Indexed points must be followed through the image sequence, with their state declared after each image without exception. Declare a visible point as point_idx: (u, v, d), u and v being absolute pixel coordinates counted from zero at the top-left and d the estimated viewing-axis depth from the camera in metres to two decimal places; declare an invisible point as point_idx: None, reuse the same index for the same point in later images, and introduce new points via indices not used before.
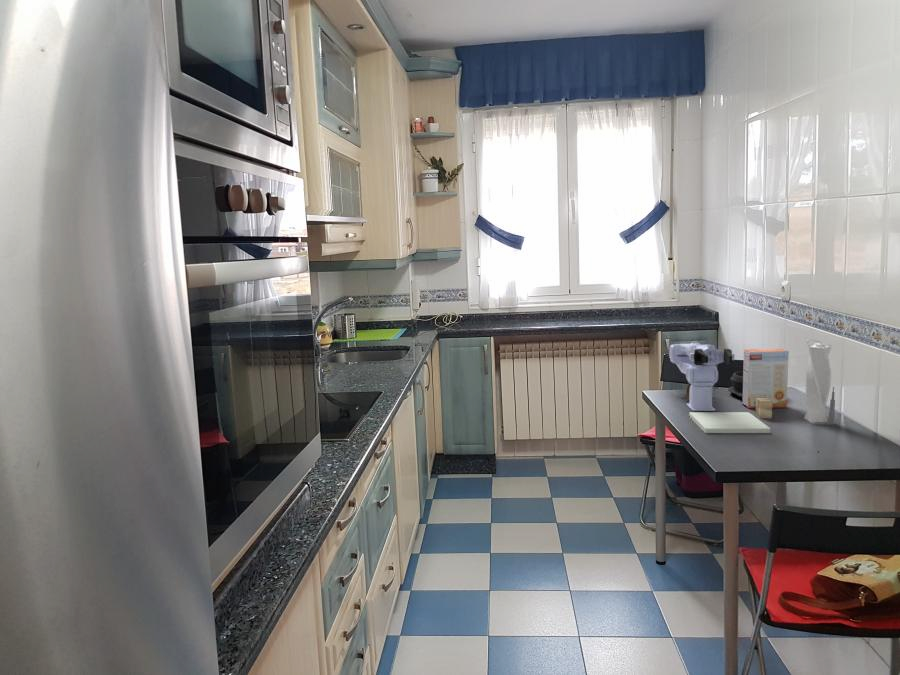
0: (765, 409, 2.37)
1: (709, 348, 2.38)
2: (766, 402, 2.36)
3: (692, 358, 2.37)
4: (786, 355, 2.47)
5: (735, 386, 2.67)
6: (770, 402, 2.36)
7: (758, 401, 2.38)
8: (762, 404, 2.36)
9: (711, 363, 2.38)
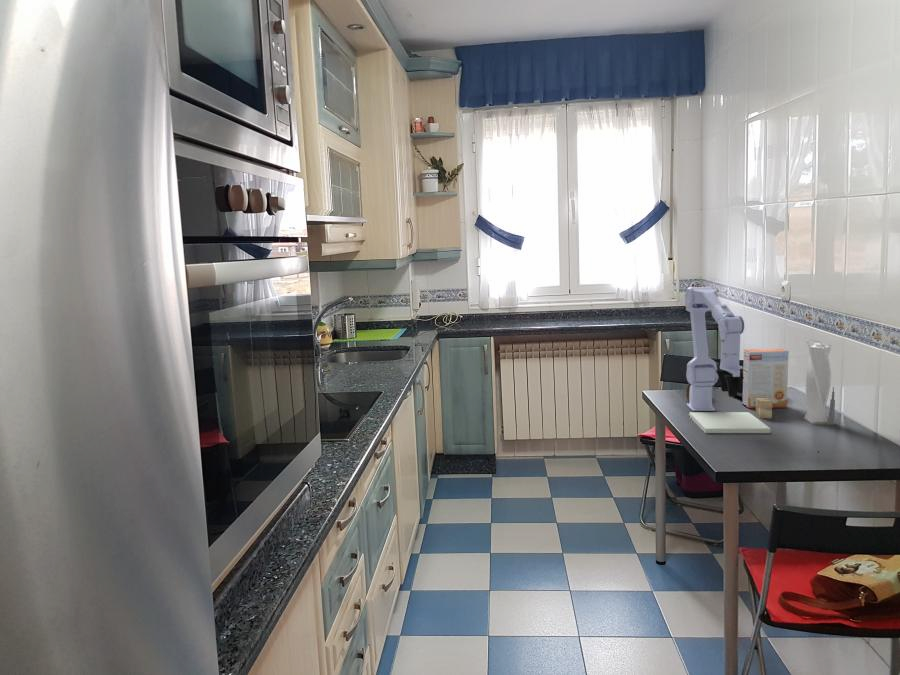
0: (765, 409, 2.37)
1: None
2: (766, 402, 2.36)
3: None
4: (786, 355, 2.47)
5: None
6: (770, 402, 2.36)
7: (758, 401, 2.38)
8: (762, 404, 2.36)
9: None
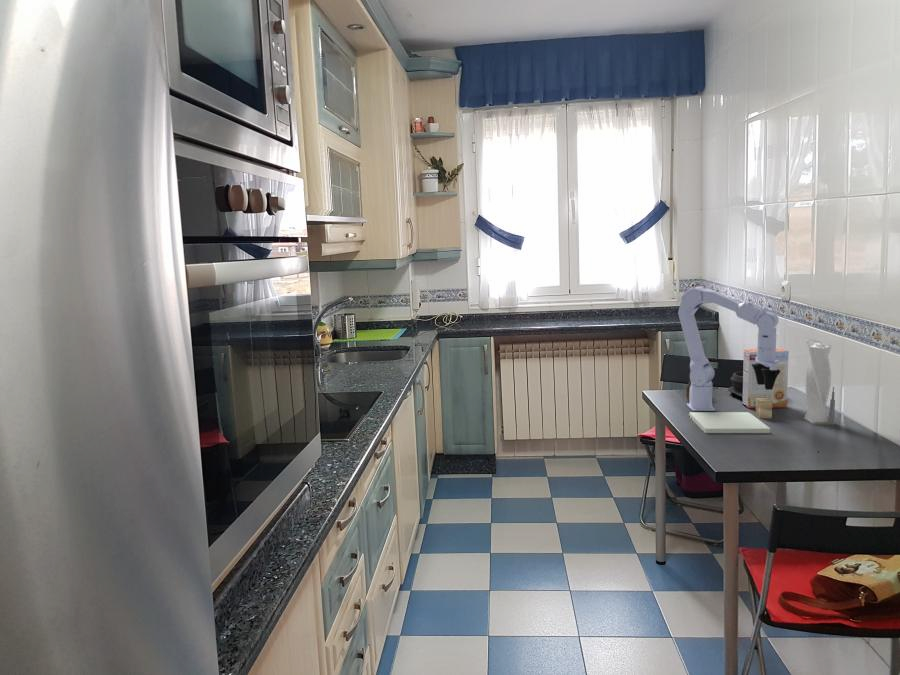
0: (765, 409, 2.37)
1: None
2: (766, 402, 2.36)
3: None
4: (786, 355, 2.47)
5: (735, 386, 2.67)
6: (770, 402, 2.36)
7: (758, 401, 2.38)
8: (762, 404, 2.36)
9: None
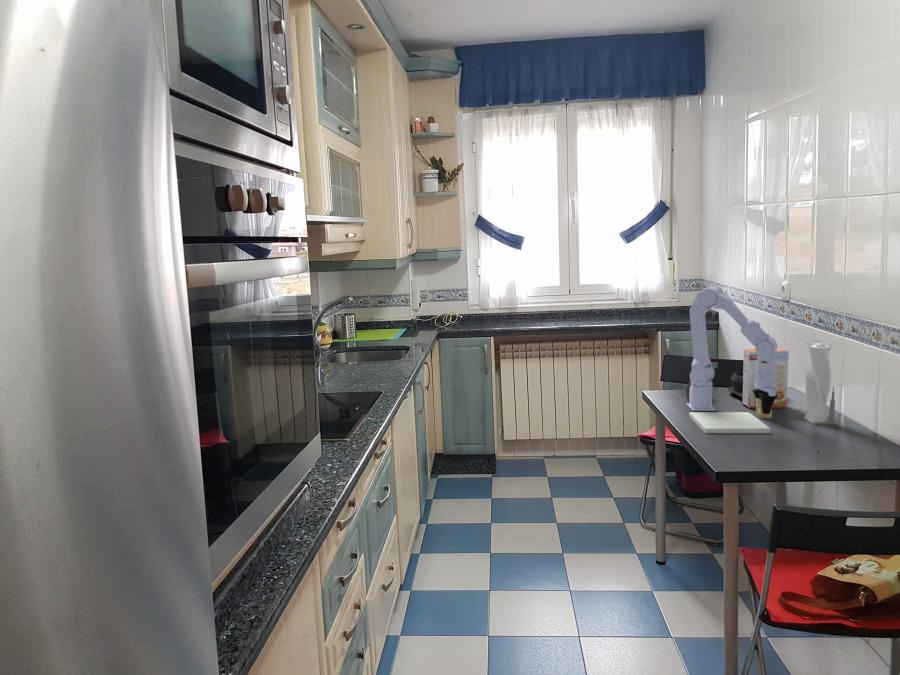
0: None
1: None
2: None
3: None
4: (786, 355, 2.47)
5: (735, 386, 2.67)
6: None
7: (758, 401, 2.38)
8: None
9: None
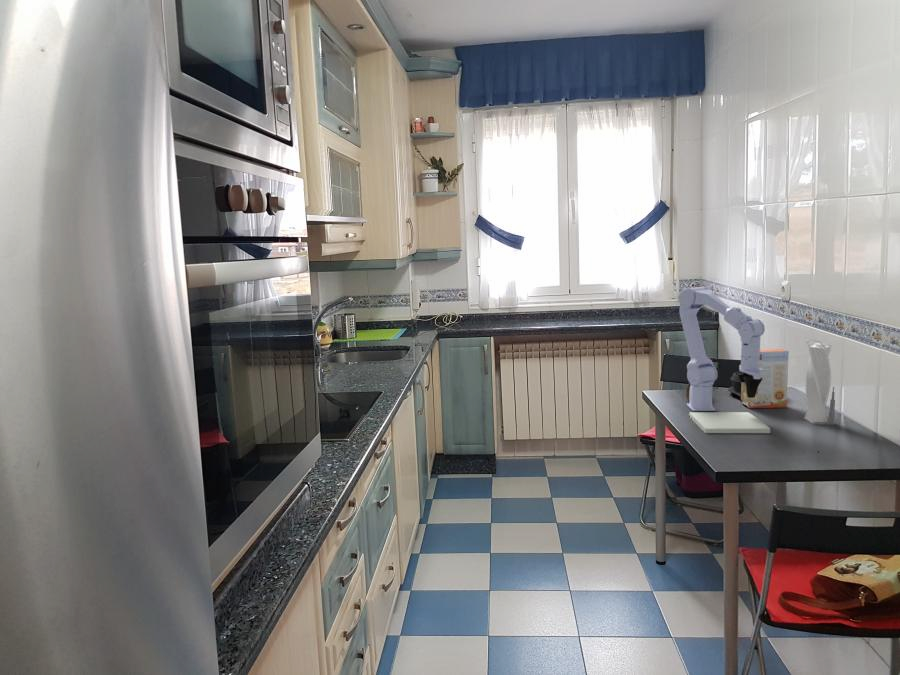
0: None
1: None
2: None
3: None
4: (786, 355, 2.47)
5: (735, 386, 2.67)
6: None
7: (743, 385, 2.33)
8: None
9: None
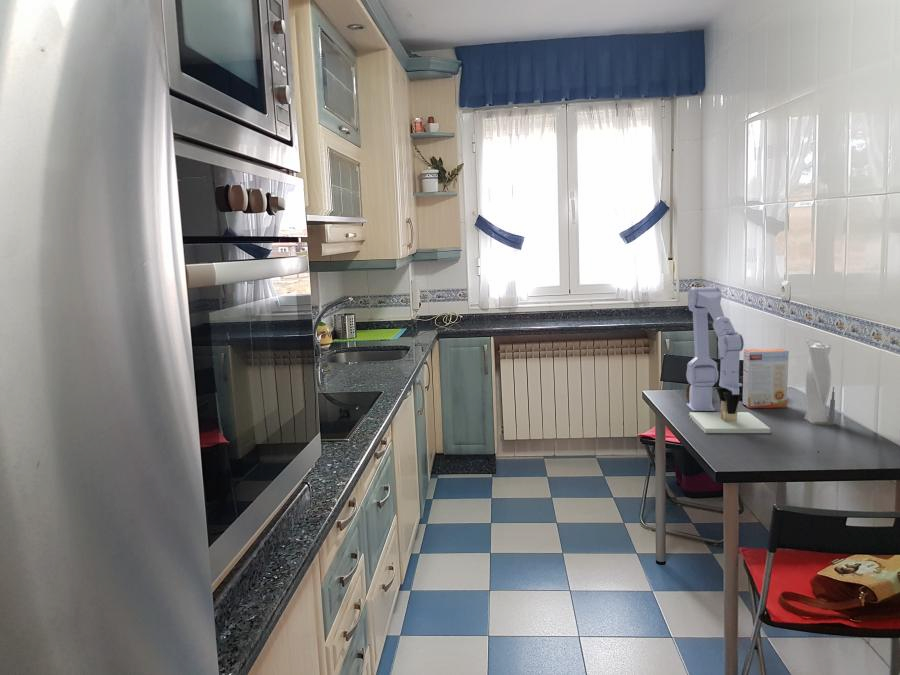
0: None
1: None
2: None
3: None
4: (786, 355, 2.47)
5: None
6: None
7: (723, 404, 2.29)
8: None
9: None
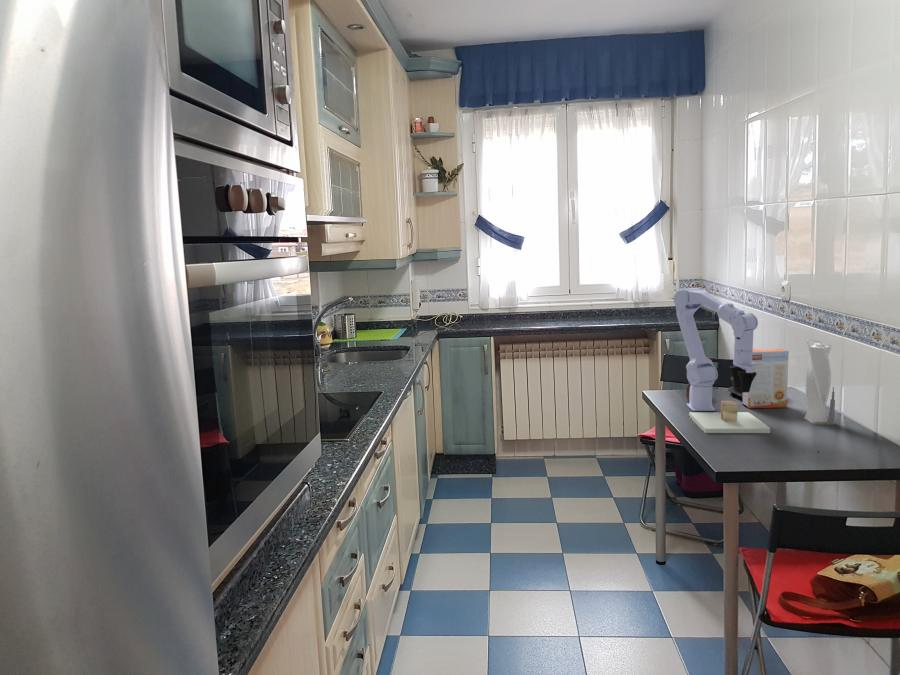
0: (729, 413, 2.28)
1: None
2: (731, 405, 2.27)
3: None
4: (786, 355, 2.47)
5: None
6: (735, 405, 2.27)
7: (723, 404, 2.29)
8: (727, 407, 2.28)
9: None
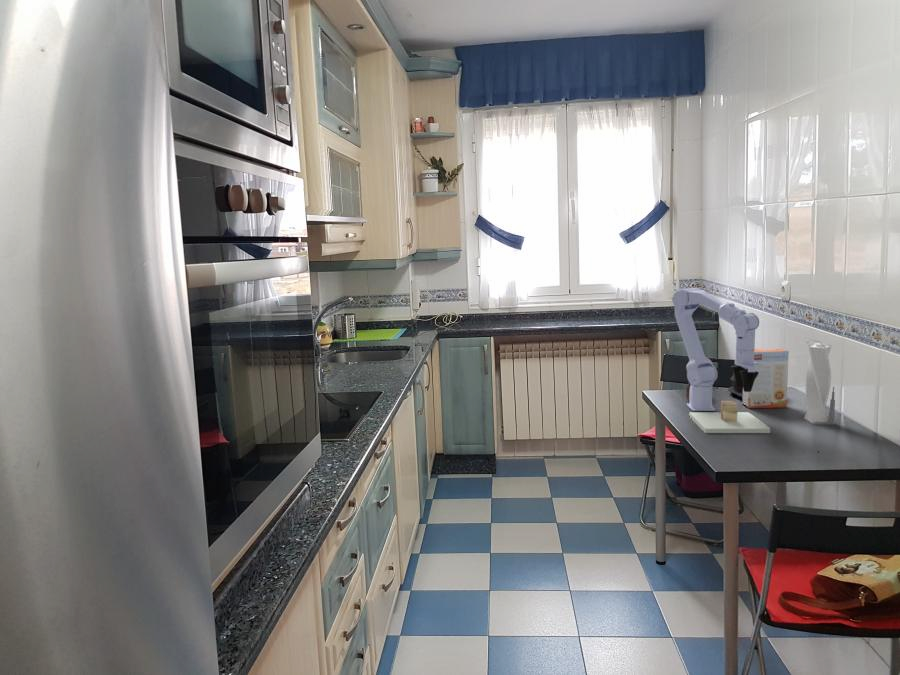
0: (729, 413, 2.28)
1: None
2: (731, 405, 2.27)
3: None
4: (786, 355, 2.47)
5: (735, 386, 2.67)
6: (735, 405, 2.27)
7: (723, 404, 2.29)
8: (727, 407, 2.28)
9: None
